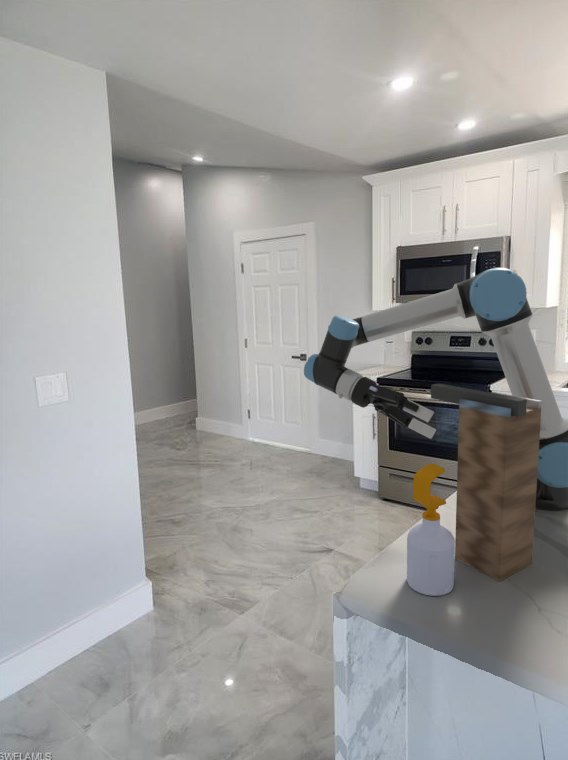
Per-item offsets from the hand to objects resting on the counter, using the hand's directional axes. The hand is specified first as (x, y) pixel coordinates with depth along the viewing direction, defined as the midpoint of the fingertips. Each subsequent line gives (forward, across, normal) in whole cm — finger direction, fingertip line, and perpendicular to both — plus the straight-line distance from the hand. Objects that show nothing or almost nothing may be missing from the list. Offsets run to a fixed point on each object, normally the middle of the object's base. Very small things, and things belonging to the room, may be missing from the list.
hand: (432, 426), depth 121 cm
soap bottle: (+16, +8, -32) cm, 37 cm away
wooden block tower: (+25, -2, -20) cm, 32 cm away
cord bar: (+8, +16, +4) cm, 19 cm away
